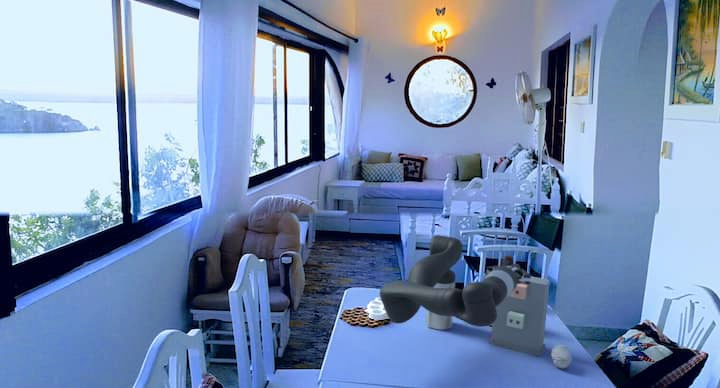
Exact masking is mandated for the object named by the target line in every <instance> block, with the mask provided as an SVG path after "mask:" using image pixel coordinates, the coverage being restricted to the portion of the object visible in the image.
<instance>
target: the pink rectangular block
mask: <svg viewBox="0 0 720 388" xmlns="http://www.w3.org/2000/svg"><path fill="white" fill-rule="evenodd" d="M527 289H528V285H525V284H517V286H516V288H515V289H514V290H513V291H512V293H511V294H510V295H509V297H514V298H519V299H524V300H525V299H526V297H527Z"/></svg>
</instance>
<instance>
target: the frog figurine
mask: <svg viewBox="0 0 720 388" xmlns="http://www.w3.org/2000/svg"><path fill="white" fill-rule="evenodd" d="M550 355H551V359H552V361H553V364H554V365H555V367H557V368H559V369H566V368H568V367H569V366H570V364H571V361H573V358H572V353H571V351H570V350H569V348H568V345H566V344H561V343H558V344H555V345H554V347H553V348H552V349H551V354H550Z"/></svg>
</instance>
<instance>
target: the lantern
mask: <svg viewBox="0 0 720 388" xmlns="http://www.w3.org/2000/svg"><path fill="white" fill-rule="evenodd" d="M509 235H511V237H512V238H513V240H514V242H515V245H516V246H518V245H517V241H516V239H515V238H514V236H513V234H510V233H508V234H507V235H506V236H504V237H503V239H502V241H501V243H503V242H504V239H505V238H506V237H508V236H509ZM502 246H503V244H501V247H500V250H502ZM503 257H504V259H503V260H502V259H501V261H500V265H504V266H506V267H507V266H510V265H513V264H514V260H513V258H514V256H511V255H504V256H503ZM515 258H516V260H515V262H517V260H518V257H515Z"/></svg>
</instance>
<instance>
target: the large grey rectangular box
mask: <svg viewBox="0 0 720 388" xmlns="http://www.w3.org/2000/svg"><path fill="white" fill-rule="evenodd" d="M550 282H551V281H550V279H547V278H542V277H535V276H532V275H531V279H530V284H526V283H525V282H523V281H522V282H521V283H520V284H525V285H528V289H527V297H526V299H525V300H524V299H519V298H514V297H509V296H508V297H507V298H505V299H504V300H503V301H502V302H501V303H500V304H499V305H498V306H496V311H497V318H496V320H495V322H494V323H492V324H491V325H492V327H491V337H490V338H489V339H488V344H489V345H493V346H495V347H496V346H497V347H501V348H505V349H508V350H513V351H516V352H520V353H524V354H529V355H532V356H535V357H539V358H540V357H541V356H542V355H543V352H544V350H545V349H546V343H544V342H545V341H544V340H545V330H546V321H547V313H548V312H547V311H548V302H549V294H550V293H549V292H550V290H549V289H550ZM509 311H512V312H517V313H521V314H525V322H524V327H523V328H522V329H519V328H515V327H511V326H507V314H508V313H509Z"/></svg>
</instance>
